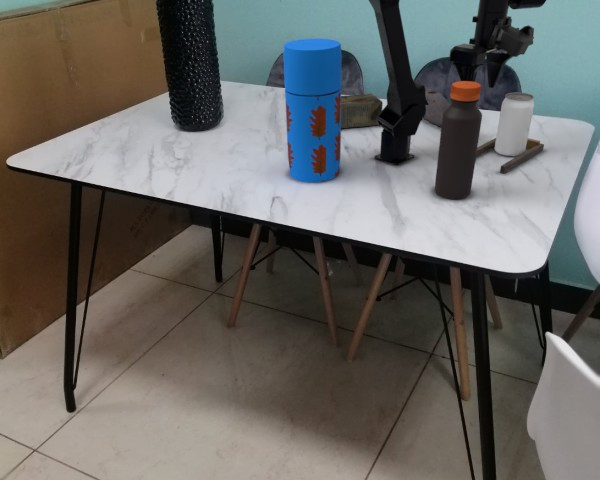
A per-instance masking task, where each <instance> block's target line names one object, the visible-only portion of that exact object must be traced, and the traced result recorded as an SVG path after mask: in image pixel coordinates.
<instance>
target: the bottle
mask: <svg viewBox="0 0 600 480" xmlns="http://www.w3.org/2000/svg"><path fill="white" fill-rule="evenodd" d="M481 90H482V84H481V83H479V82H478V81H477V82H476V81H475V82H471V81H461V80H460V81H455V82H453V83H452V84H451V87H450V101H451V104H450V107H448V108H447V109H446V110H445V111H444V113H443V118H442V127H440V136H439V146H438V155H437V164H436V174H435V180H434V181H435V182H434V192H435V194H436V195H437V196H439V197H441V198H443V199H448V200H460V199H465V198H467V197H468V196H470V195H471V192H472V185H473V179H474V173H475V166H476V161H477V160H476V159H477V157H476V153H477V147H479V140H480V132H481V127H482V119H483V113H482V112H481V110H480V109H479V108H478V107H477V104H478V103H479V100H480V96H481Z"/></svg>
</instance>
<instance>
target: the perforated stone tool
mask: <svg viewBox="0 0 600 480" xmlns="http://www.w3.org/2000/svg"><path fill="white" fill-rule="evenodd" d="M425 96H426V100H427V102H428V104H429V105H426V115H425V116H424V117H423V119H424V120H426V121H428V122H429V123H431V124H434V125H436V126H438V127H440V128H441V127H442V118H443V113H444V111H445V110H446V109H447V108H448V107H450V106H451V104H450V102H449V101H448V99H446V97H445V96H444V95H443V94H441V92H439V91H437V90H435V89H433V88H431V87H425Z"/></svg>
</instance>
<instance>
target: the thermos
mask: <svg viewBox="0 0 600 480" xmlns="http://www.w3.org/2000/svg"><path fill="white" fill-rule="evenodd" d="M342 54H343V53H342V44H341V42H340V41H338V40H335V39H329V38H303V39H302V38H301V39H296V40H291V41H288V42H285V43H283V55H282V56H283V78H284V97H285V98H284V101H285V121H286V143H287V146H286V147H287V160H288V169H289V176H290V177H291V178H292V179H294V180H297V181H299V182H304V183H323V182H328V181H331V180H334V179H335V178H337V177H338V176H339V174H340V170H341V169H340V168H341V156H342V155H341V149H342V146H341V145H342V144H341V143H342V139H341V138H342V128H341V96H342V61H343V59H342V57H343V55H342Z"/></svg>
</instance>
